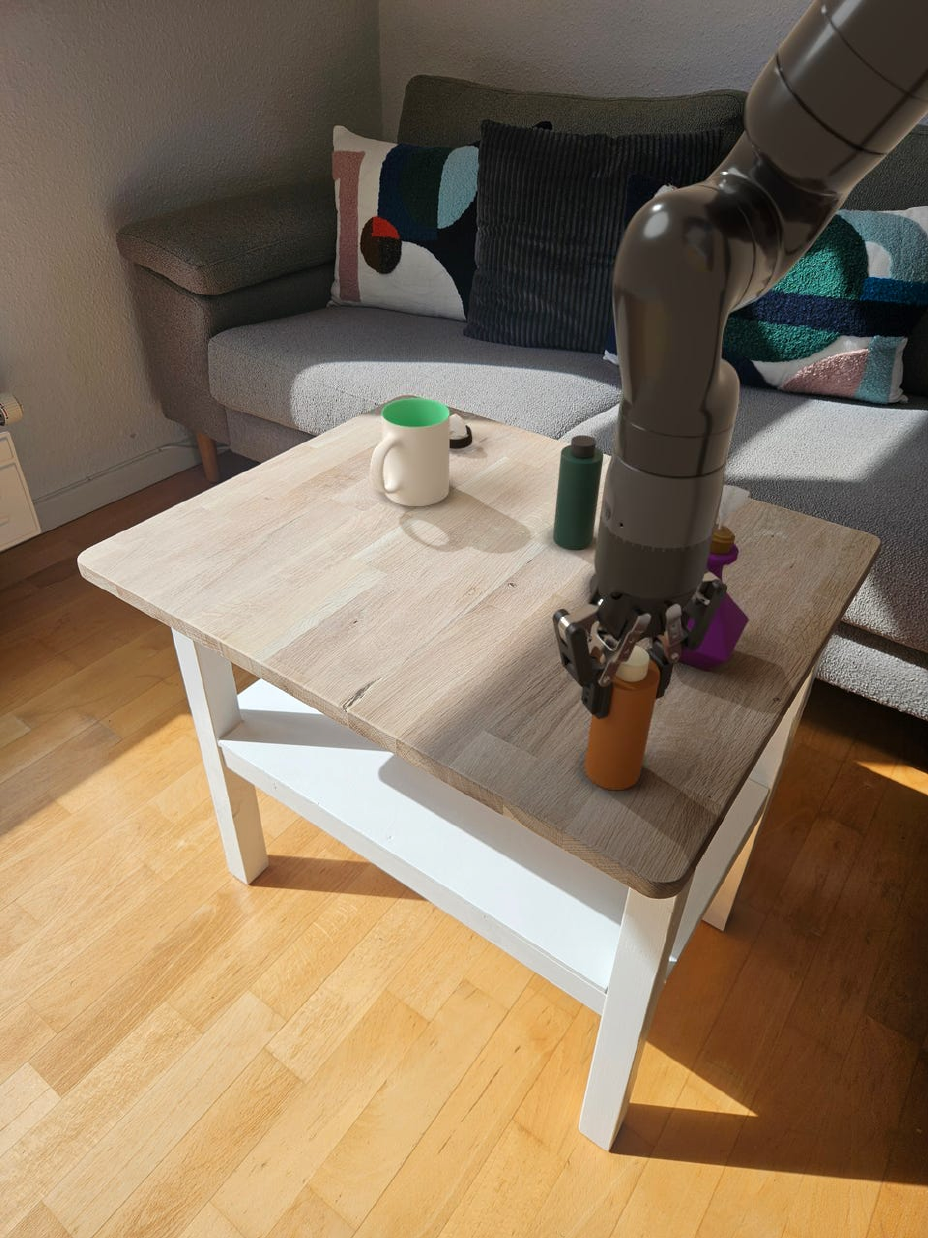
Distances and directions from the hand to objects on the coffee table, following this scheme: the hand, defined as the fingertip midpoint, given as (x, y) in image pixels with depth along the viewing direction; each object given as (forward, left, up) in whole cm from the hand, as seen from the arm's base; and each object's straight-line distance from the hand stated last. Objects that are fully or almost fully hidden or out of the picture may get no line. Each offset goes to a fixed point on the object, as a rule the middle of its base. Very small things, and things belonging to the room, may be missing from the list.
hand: (624, 700), depth 68 cm
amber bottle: (0, 0, -8) cm, 8 cm away
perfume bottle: (-11, -14, -8) cm, 20 cm away
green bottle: (-3, -35, -8) cm, 36 cm away
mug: (+16, -46, -8) cm, 49 cm away
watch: (+10, -61, -8) cm, 62 cm away
